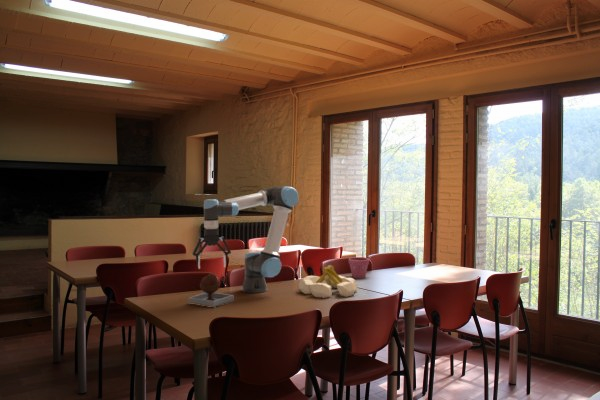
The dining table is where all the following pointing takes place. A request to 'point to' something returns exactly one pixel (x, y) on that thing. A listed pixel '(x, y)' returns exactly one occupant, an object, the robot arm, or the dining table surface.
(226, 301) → the tray
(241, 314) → the dining table surface
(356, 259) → the plant pot
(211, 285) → the brown model tree
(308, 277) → the campfire
